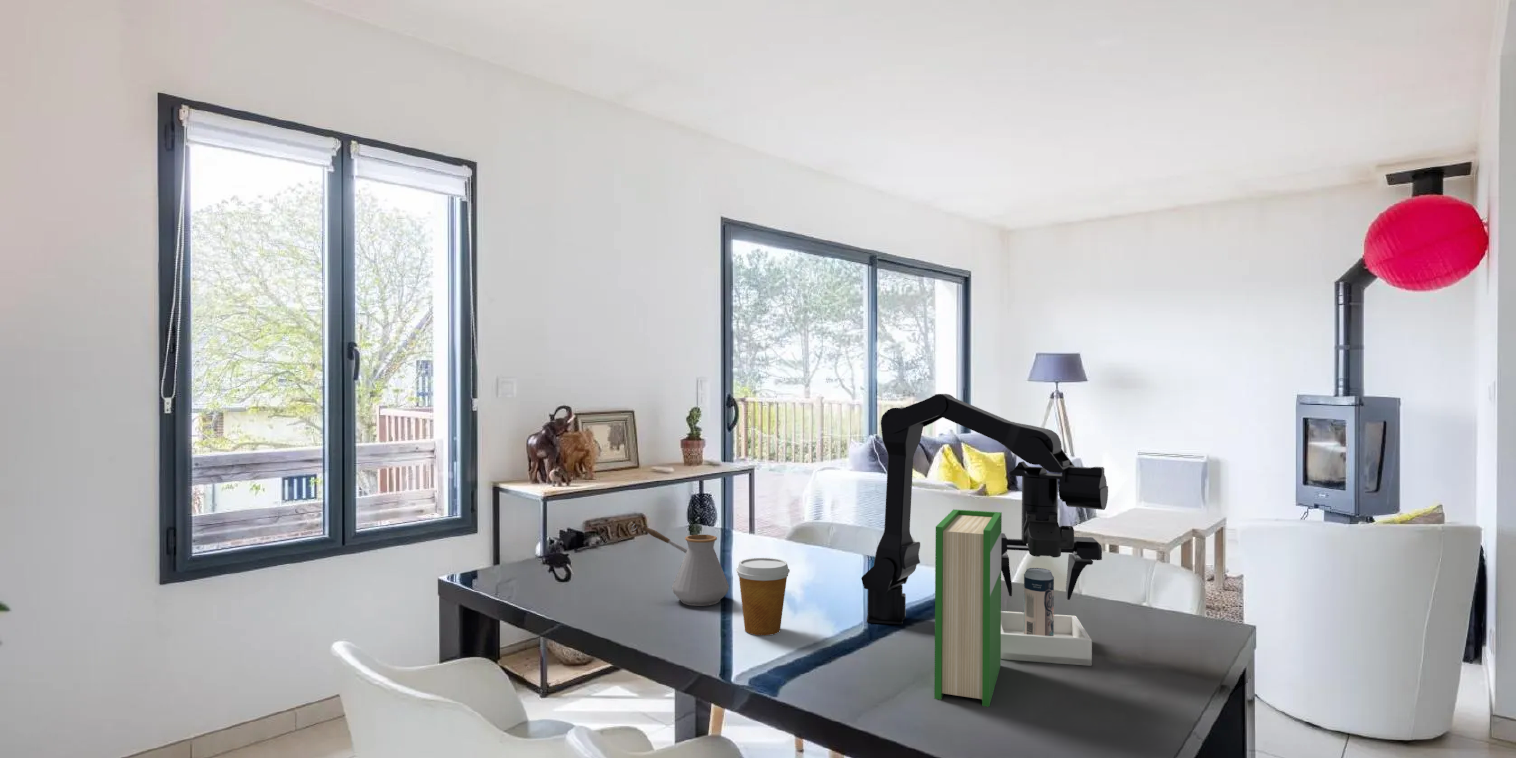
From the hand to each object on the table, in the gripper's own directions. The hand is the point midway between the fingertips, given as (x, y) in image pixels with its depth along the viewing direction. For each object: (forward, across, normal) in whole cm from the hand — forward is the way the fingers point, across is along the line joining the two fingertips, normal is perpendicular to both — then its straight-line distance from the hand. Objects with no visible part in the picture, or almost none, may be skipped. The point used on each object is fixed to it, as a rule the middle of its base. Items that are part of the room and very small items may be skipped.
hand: (1038, 597), depth 135 cm
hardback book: (+9, -12, -18) cm, 24 cm away
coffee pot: (+9, -68, +16) cm, 70 cm away
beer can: (+8, 0, 0) cm, 8 cm away
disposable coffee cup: (+9, -47, -1) cm, 48 cm away
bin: (+8, 0, 0) cm, 8 cm away
